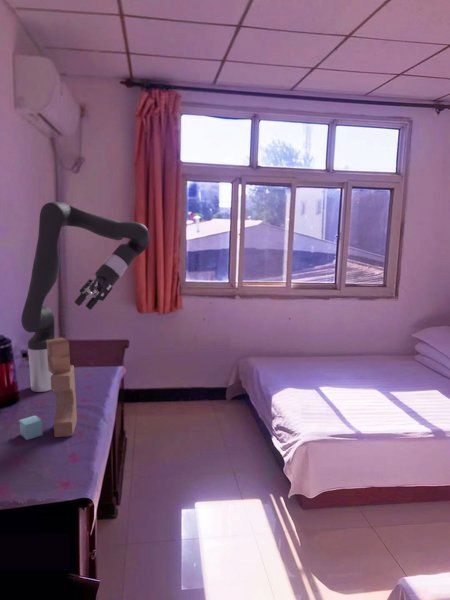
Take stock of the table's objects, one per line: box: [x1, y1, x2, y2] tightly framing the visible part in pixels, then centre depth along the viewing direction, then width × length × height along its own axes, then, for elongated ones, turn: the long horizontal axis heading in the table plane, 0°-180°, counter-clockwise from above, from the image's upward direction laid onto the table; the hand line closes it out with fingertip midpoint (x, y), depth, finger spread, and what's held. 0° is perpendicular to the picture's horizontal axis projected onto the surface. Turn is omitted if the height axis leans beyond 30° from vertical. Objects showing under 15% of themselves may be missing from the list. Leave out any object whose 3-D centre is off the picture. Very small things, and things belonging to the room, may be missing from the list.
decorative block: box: [50, 364, 78, 438], centre depth 142 cm, size 11×6×20 cm, turn 10°
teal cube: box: [18, 415, 44, 441], centre depth 140 cm, size 5×5×5 cm
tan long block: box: [46, 337, 71, 375], centre depth 139 cm, size 5×5×10 cm
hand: (82, 306), depth 150 cm, fingers open, 8 cm apart
